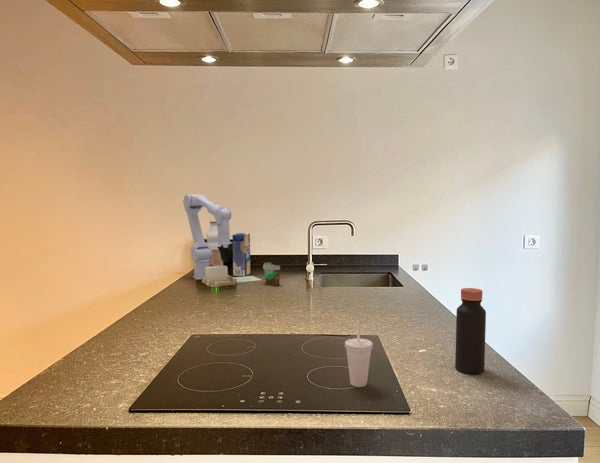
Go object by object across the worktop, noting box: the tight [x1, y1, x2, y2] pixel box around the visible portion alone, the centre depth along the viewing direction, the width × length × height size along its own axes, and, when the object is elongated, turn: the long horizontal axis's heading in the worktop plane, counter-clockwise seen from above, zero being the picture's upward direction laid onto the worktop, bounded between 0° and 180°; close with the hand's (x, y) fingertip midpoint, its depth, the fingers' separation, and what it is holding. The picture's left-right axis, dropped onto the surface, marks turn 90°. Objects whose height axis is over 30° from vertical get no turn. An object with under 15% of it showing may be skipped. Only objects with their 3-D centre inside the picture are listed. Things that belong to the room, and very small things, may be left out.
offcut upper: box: [213, 281, 230, 284], centre depth 219 cm, size 4×8×1 cm, turn 117°
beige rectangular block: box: [205, 265, 229, 281], centre depth 225 cm, size 4×10×8 cm, turn 117°
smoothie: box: [344, 322, 374, 388], centre depth 104 cm, size 6×6×14 cm
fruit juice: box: [206, 220, 224, 267], centre depth 263 cm, size 9×9×28 cm
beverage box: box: [232, 232, 251, 277], centre depth 247 cm, size 7×11×22 cm, turn 173°
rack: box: [201, 274, 238, 288], centre depth 222 cm, size 14×13×3 cm
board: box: [234, 275, 263, 284], centre depth 232 cm, size 13×13×1 cm
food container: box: [262, 261, 281, 287], centre depth 219 cm, size 12×6×10 cm, turn 25°
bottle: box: [454, 287, 487, 375], centre depth 112 cm, size 7×7×20 cm
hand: (224, 261), depth 223 cm, fingers open, 7 cm apart
